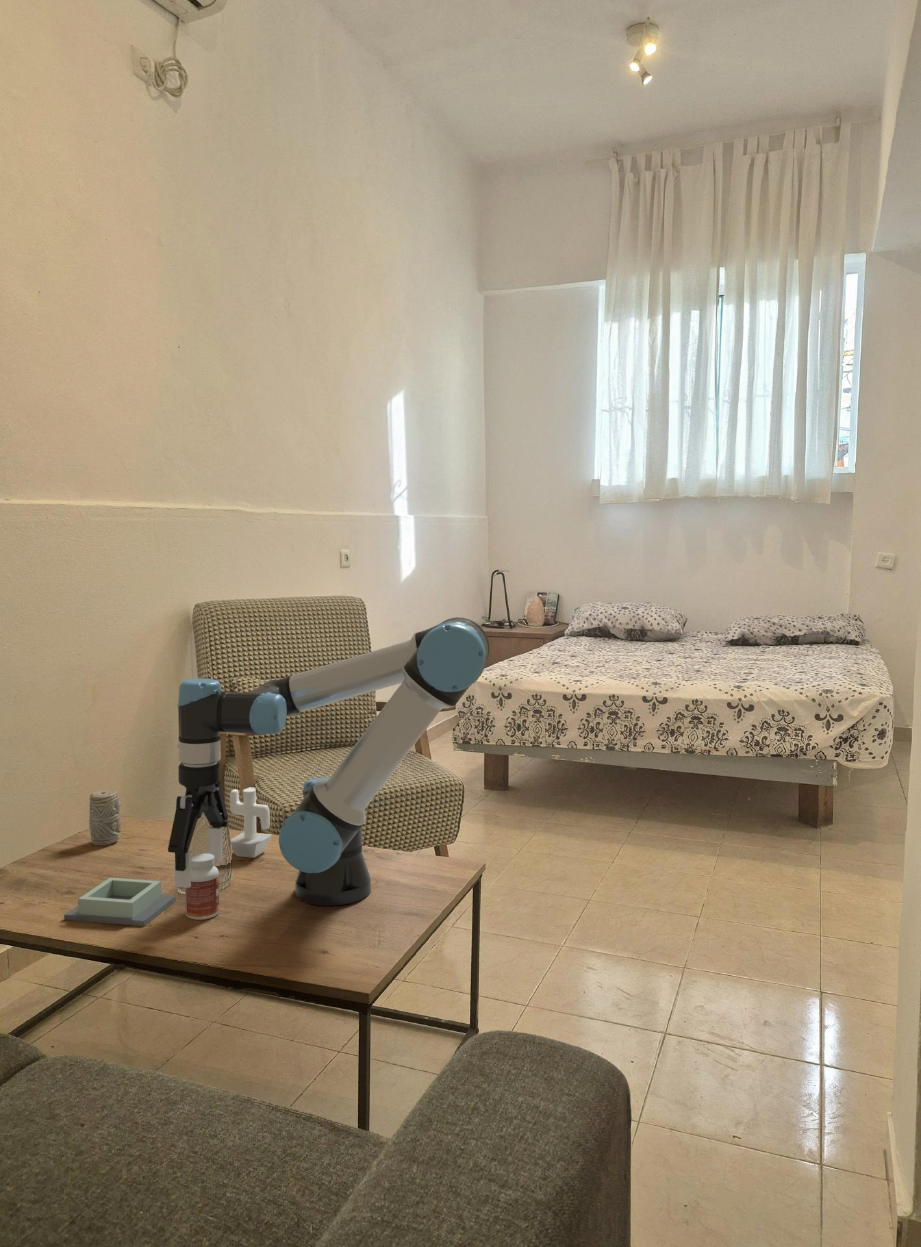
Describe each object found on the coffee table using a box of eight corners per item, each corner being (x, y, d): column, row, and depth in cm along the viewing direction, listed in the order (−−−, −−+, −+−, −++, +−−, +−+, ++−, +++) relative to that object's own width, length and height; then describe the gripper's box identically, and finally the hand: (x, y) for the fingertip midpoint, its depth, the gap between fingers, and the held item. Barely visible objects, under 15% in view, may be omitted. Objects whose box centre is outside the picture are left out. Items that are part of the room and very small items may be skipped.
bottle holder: (175, 900, 176) (175, 881, 175) (144, 926, 164) (143, 905, 164) (100, 895, 178) (99, 875, 178) (64, 919, 167) (63, 899, 166)
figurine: (260, 861, 198) (260, 794, 197) (223, 856, 201) (222, 791, 199) (277, 850, 205) (276, 786, 203) (240, 846, 208) (239, 782, 206)
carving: (83, 846, 207) (81, 795, 206) (104, 836, 214) (103, 787, 213) (107, 849, 205) (105, 797, 204) (127, 839, 212) (126, 789, 211)
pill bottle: (224, 916, 169) (223, 859, 168) (191, 923, 165) (190, 865, 164) (213, 905, 174) (212, 849, 173) (181, 912, 171) (180, 855, 170)
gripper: (209, 746, 180) (209, 849, 182) (147, 777, 155) (147, 896, 157) (245, 748, 179) (244, 852, 181) (187, 780, 154) (188, 900, 156)
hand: (199, 873), depth 169 cm, fingers open, 13 cm apart
